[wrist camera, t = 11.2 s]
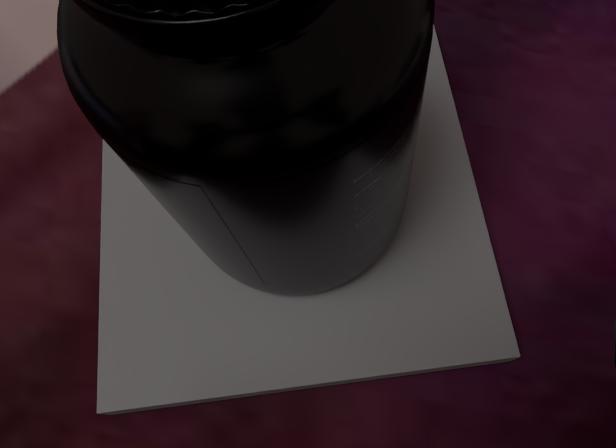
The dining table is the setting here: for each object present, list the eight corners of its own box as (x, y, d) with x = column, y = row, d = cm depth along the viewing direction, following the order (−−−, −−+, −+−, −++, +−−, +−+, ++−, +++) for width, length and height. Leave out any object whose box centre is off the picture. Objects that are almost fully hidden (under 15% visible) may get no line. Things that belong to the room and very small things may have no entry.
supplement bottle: (342, 74, 19) (319, -444, 8) (446, 238, 16) (628, -179, 5) (160, 158, 18) (-145, -275, 7) (239, 341, 16) (-43, 113, 5)
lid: (511, 361, 16) (520, 356, 15) (111, 414, 16) (96, 413, 15) (428, 36, 20) (431, 17, 19) (115, 85, 21) (104, 68, 20)
